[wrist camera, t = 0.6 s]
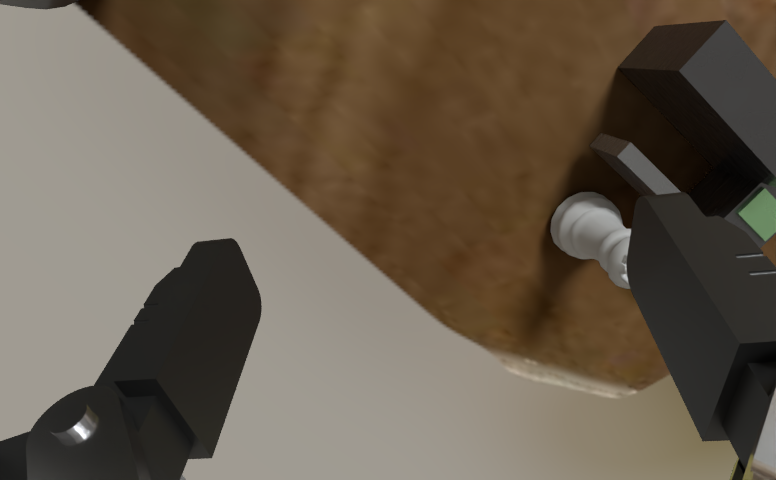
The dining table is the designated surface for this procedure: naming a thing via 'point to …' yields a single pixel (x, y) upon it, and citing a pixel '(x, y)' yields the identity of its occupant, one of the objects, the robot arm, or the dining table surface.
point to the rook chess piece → (593, 233)
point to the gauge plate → (632, 166)
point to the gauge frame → (716, 115)
